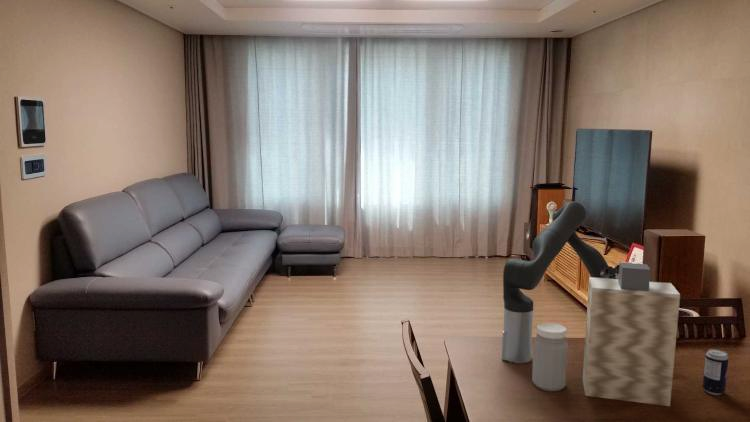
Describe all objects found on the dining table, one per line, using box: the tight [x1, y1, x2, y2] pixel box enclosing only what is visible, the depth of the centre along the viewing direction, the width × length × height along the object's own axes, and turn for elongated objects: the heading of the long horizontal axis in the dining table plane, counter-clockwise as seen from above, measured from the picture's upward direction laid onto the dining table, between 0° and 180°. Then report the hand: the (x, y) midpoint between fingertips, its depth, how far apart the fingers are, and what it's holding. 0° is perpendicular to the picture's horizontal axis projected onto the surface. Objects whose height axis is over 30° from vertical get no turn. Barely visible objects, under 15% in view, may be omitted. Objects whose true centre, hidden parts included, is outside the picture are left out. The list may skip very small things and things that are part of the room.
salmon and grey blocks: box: [618, 261, 651, 291], centre depth 165 cm, size 20×7×6 cm, turn 164°
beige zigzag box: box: [582, 276, 681, 407], centre depth 163 cm, size 22×11×32 cm, turn 74°
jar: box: [531, 322, 569, 392], centre depth 168 cm, size 10×10×18 cm
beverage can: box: [701, 348, 730, 396], centre depth 165 cm, size 6×6×12 cm
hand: (628, 267), depth 169 cm, fingers closed on salmon and grey blocks, 3 cm apart
